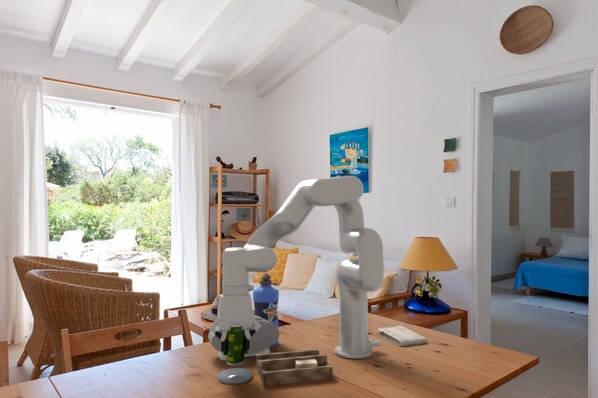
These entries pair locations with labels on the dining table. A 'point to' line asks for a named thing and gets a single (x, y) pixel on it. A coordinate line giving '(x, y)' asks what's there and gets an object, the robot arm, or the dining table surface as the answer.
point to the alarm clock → (252, 339)
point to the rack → (292, 367)
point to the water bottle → (266, 301)
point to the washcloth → (401, 336)
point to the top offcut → (305, 363)
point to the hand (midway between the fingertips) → (235, 352)
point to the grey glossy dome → (235, 376)
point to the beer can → (235, 345)
